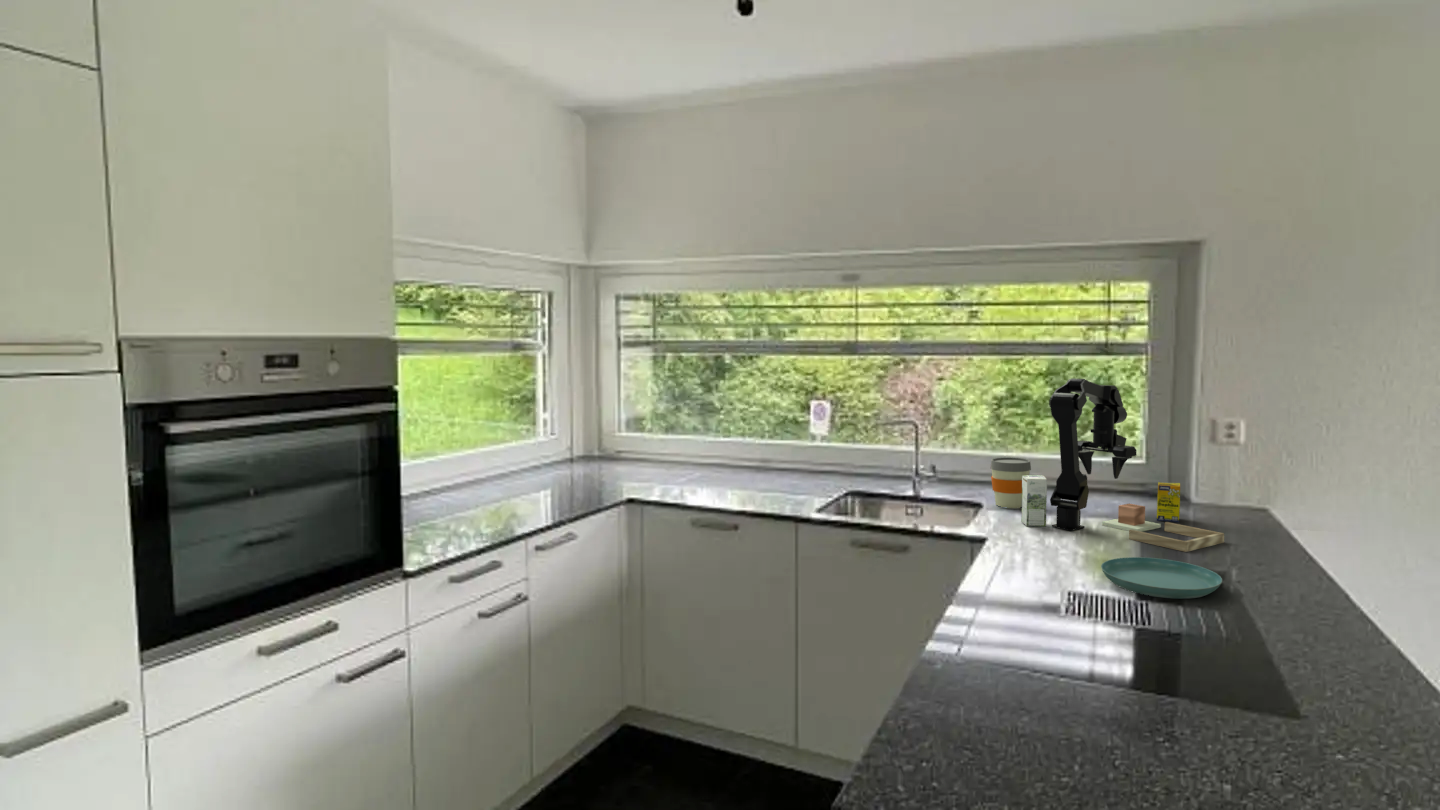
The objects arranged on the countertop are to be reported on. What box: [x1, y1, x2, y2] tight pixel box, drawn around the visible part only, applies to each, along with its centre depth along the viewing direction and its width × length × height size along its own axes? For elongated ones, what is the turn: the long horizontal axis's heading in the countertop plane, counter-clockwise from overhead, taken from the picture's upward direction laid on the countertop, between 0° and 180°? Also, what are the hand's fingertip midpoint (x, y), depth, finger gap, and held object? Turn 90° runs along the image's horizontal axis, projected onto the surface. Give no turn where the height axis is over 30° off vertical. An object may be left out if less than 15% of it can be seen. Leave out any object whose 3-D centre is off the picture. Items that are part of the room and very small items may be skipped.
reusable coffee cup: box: [990, 456, 1032, 509], centre depth 272 cm, size 13×12×15 cm
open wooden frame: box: [1128, 521, 1225, 553], centre depth 225 cm, size 17×16×2 cm
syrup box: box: [1021, 474, 1048, 527], centre depth 246 cm, size 6×6×14 cm
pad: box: [1101, 518, 1162, 532], centre depth 242 cm, size 11×11×1 cm
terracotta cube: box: [1117, 503, 1146, 526], centre depth 242 cm, size 5×5×5 cm
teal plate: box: [1100, 556, 1223, 600], centre depth 188 cm, size 24×24×3 cm
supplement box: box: [1156, 481, 1181, 524], centre depth 248 cm, size 6×6×11 cm
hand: (1102, 476), depth 256 cm, fingers open, 9 cm apart
